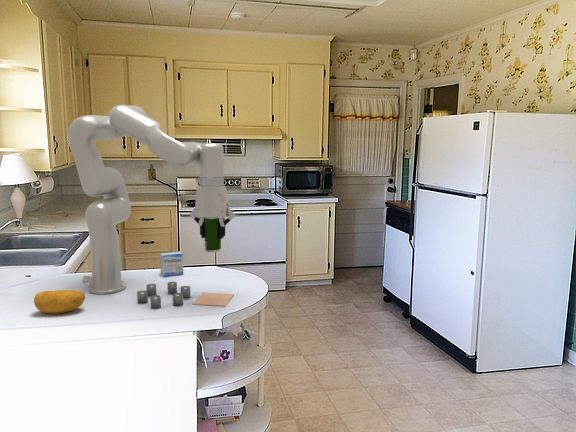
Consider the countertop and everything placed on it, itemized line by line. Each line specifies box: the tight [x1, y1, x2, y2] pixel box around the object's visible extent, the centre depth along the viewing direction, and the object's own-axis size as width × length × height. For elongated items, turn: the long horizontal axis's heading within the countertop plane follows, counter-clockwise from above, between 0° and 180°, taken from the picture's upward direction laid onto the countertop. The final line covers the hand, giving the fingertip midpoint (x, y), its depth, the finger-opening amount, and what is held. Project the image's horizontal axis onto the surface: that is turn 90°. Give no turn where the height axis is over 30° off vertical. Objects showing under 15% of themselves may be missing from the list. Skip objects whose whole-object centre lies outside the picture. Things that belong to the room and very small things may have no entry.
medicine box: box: [159, 251, 184, 278], centre depth 188 cm, size 8×4×9 cm, turn 117°
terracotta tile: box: [191, 291, 235, 307], centre depth 162 cm, size 11×11×1 cm
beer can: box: [203, 218, 222, 253], centre depth 158 cm, size 5×5×12 cm
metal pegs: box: [136, 281, 191, 310], centre depth 161 cm, size 15×17×4 cm
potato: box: [33, 289, 86, 315], centre depth 149 cm, size 7×14×7 cm, turn 100°
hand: (212, 237), depth 158 cm, fingers closed on beer can, 5 cm apart
